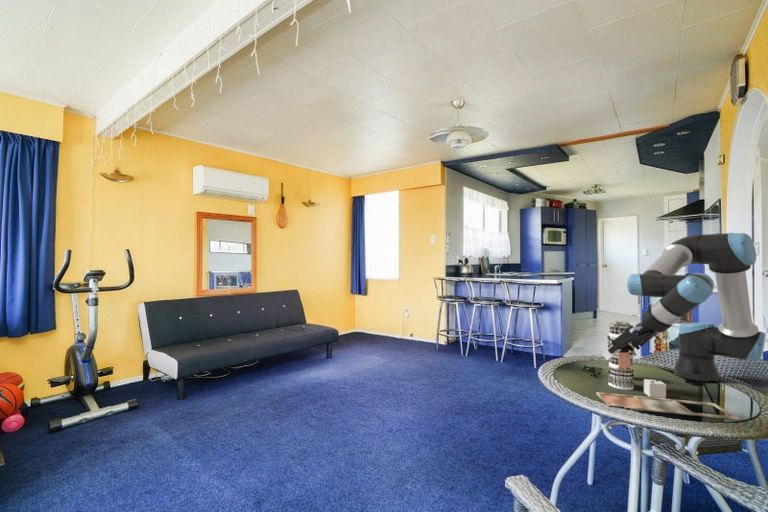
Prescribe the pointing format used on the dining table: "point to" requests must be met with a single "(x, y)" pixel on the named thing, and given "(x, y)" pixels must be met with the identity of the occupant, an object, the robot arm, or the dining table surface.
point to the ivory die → (655, 388)
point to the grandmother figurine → (625, 357)
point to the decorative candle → (616, 376)
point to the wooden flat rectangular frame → (658, 405)
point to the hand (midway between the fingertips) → (612, 356)
